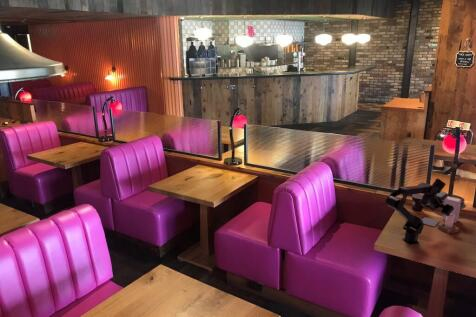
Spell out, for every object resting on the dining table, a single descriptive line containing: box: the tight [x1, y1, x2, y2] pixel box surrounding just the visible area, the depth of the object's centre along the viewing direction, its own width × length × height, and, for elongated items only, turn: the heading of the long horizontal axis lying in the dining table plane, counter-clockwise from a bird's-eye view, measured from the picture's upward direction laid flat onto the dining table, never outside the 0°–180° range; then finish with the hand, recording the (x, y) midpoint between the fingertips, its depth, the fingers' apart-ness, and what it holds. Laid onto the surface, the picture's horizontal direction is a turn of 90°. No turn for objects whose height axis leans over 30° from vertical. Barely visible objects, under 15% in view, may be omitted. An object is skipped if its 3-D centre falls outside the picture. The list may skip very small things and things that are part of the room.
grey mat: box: [421, 216, 440, 228], centre depth 255 cm, size 11×9×1 cm
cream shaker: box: [444, 213, 455, 229], centre depth 244 cm, size 4×4×11 cm
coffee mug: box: [411, 194, 426, 213], centre depth 271 cm, size 12×9×10 cm
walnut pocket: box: [437, 222, 460, 234], centre depth 245 cm, size 8×8×2 cm
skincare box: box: [442, 196, 462, 224], centre depth 257 cm, size 8×6×15 cm
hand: (441, 212), depth 238 cm, fingers open, 9 cm apart
